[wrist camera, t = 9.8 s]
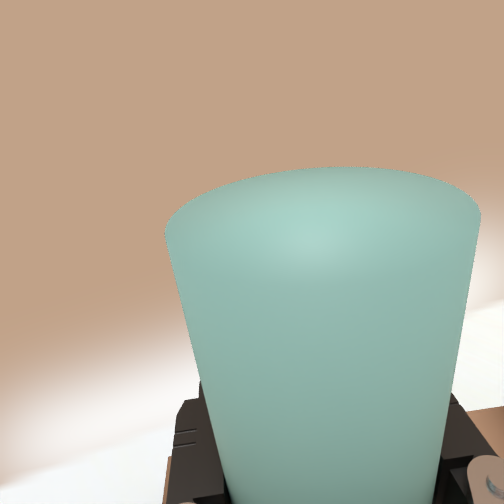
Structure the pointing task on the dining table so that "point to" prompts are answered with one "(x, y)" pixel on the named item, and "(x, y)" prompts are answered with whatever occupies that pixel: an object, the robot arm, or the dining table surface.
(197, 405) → the robot arm
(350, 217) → the headed peg
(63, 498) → the dining table surface
